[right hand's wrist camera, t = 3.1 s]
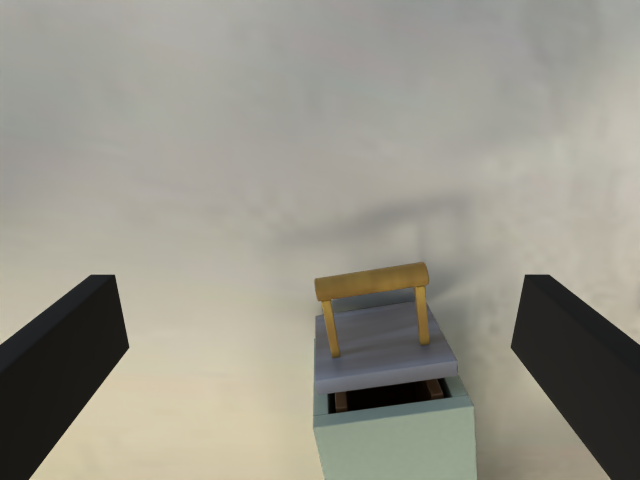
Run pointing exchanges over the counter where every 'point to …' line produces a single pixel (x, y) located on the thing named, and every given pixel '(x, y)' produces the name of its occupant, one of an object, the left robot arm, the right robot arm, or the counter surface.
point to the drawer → (379, 342)
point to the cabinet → (398, 438)
